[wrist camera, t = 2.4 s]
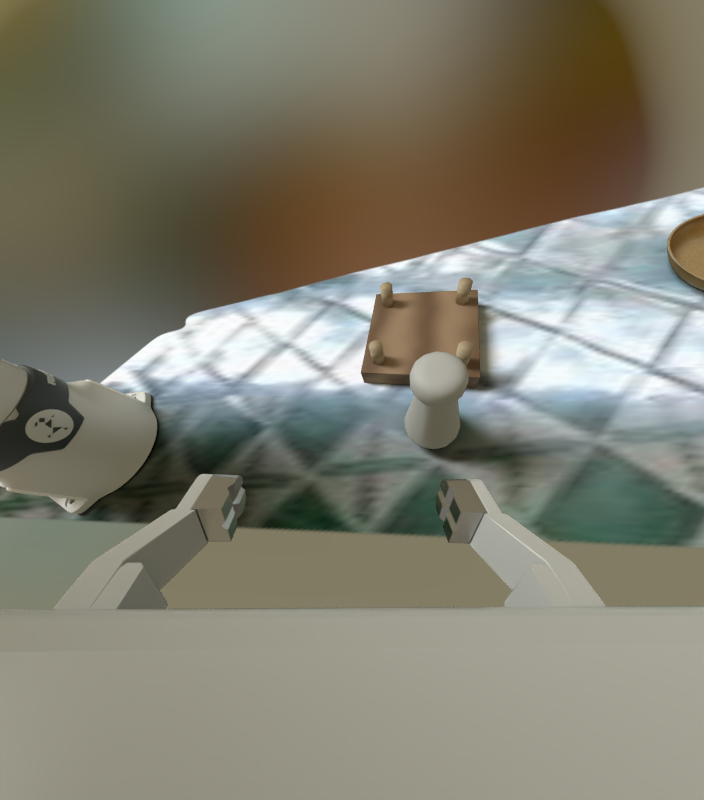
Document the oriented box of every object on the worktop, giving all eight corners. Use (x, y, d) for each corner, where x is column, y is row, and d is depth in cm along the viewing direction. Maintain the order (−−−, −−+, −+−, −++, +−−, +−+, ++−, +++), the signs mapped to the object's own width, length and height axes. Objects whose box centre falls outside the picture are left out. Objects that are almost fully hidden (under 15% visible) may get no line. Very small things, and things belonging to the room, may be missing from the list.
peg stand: (364, 382, 35) (356, 358, 30) (378, 307, 40) (373, 277, 36) (475, 388, 31) (486, 362, 26) (473, 304, 37) (482, 270, 32)
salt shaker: (446, 402, 31) (464, 329, 20) (464, 447, 28) (498, 392, 17) (399, 414, 31) (390, 350, 20) (412, 459, 29) (411, 414, 17)
